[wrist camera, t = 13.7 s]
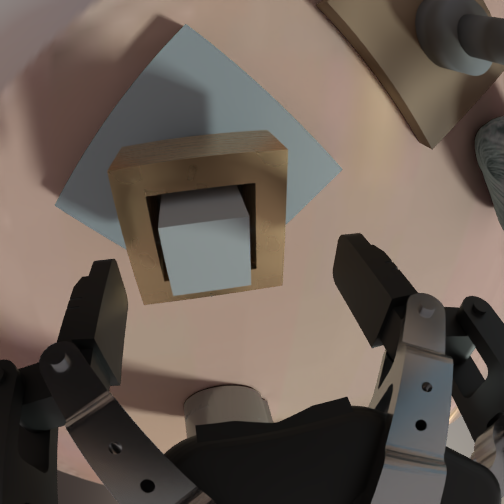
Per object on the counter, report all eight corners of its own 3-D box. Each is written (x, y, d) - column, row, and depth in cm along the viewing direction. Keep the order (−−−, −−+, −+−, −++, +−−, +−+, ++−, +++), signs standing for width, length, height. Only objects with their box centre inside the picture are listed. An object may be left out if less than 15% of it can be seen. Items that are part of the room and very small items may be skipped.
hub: (332, 160, 19) (410, 231, 12) (209, 282, 23) (226, 383, 16) (185, 26, 13) (187, -3, 6) (62, 194, 16) (7, 286, 10)
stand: (497, 58, 16) (579, 87, 9) (419, 142, 19) (506, 197, 13) (424, -67, 9) (517, -79, 3) (315, 5, 13) (411, -15, 6)
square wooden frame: (267, 129, 13) (288, 149, 11) (266, 248, 17) (282, 285, 15) (121, 147, 12) (107, 171, 10) (147, 264, 16) (144, 304, 14)
